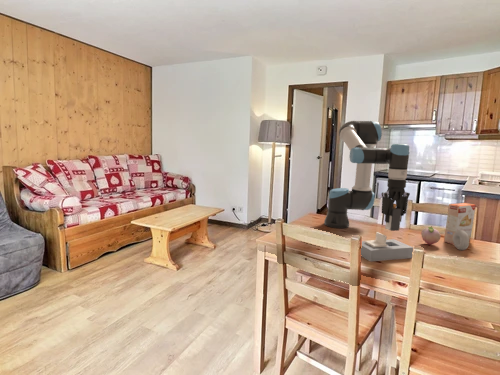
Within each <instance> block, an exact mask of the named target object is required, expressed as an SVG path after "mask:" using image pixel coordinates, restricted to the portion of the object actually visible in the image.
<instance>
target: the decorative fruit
mask: <svg viewBox="0 0 500 375" xmlns="http://www.w3.org/2000/svg"><path fill="white" fill-rule="evenodd" d="M421 238H422V240H423V241H424V242H425V243H426V244H427V245H429V246H431V245H434V244H436V243H438V242H439V241H440V239H441V233H440V231H439V230H438V229H436V228H434V227H433V226H432V225H431V226H428V227H425V228H423V229H422V230H421Z"/></svg>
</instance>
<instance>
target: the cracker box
mask: <svg viewBox="0 0 500 375" xmlns="http://www.w3.org/2000/svg"><path fill="white" fill-rule="evenodd" d="M476 206H477V205H476V204H473V203H468V202H461V203H449V204H448V209H447V216H446V223H445V229H444V230H445V231H444V238H443V242H444V243H447V244H449V245H454V243H453V235H454V233H455V232H456V231H458V230H463V231H465V232H466V233H467V235H468V237H469V243H470V242H471V240H472V239H471V237H472V232H473V225H474V219H475V213H476ZM454 246H455V245H454Z"/></svg>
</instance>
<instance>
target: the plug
mask: <svg viewBox="0 0 500 375" xmlns="http://www.w3.org/2000/svg"><path fill="white" fill-rule="evenodd" d="M390 216H392V222H391V230H390V231H391V232H394V231H400V229H399V226H400V227H401V222H400V216H401V209H399V208H396V203H394V204H393V208H392V211H391V215H390Z"/></svg>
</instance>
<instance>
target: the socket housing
mask: <svg viewBox="0 0 500 375" xmlns="http://www.w3.org/2000/svg"><path fill="white" fill-rule="evenodd" d="M364 241H365V240H362V248H361V255H362V256H361V257H362V258H363V259H365V260H367V261H369V262H381V261H391V260H392V261H393V260H403V259H405V260H406V259H412V258H413V254H412V252H413V253H414V247H413V246H411V245H408V244H406V243H404V242H401V241H400V240H397V239H394V238H391V239H386V244H387V245H388V246H387V247H372V246H370V245H368V244H366V243H364Z"/></svg>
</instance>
